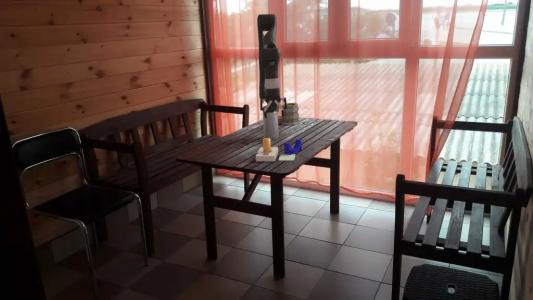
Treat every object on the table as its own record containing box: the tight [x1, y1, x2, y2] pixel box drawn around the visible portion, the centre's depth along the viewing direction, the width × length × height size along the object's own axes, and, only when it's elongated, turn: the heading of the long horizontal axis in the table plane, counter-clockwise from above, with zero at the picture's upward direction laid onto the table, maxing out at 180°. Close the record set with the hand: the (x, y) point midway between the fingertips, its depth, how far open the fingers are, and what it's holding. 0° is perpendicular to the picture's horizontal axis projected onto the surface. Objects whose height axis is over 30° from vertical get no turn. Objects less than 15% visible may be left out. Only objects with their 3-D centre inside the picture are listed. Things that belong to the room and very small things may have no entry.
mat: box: [278, 153, 296, 162], centre depth 235 cm, size 10×8×1 cm
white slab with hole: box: [255, 146, 279, 162], centre depth 239 cm, size 16×10×3 cm, turn 171°
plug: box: [262, 137, 272, 153], centre depth 238 cm, size 4×4×10 cm
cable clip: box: [283, 138, 303, 155], centre depth 243 cm, size 12×4×6 cm, turn 140°
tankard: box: [277, 102, 301, 127], centre depth 310 cm, size 20×13×15 cm, turn 84°
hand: (274, 117), depth 233 cm, fingers open, 8 cm apart
